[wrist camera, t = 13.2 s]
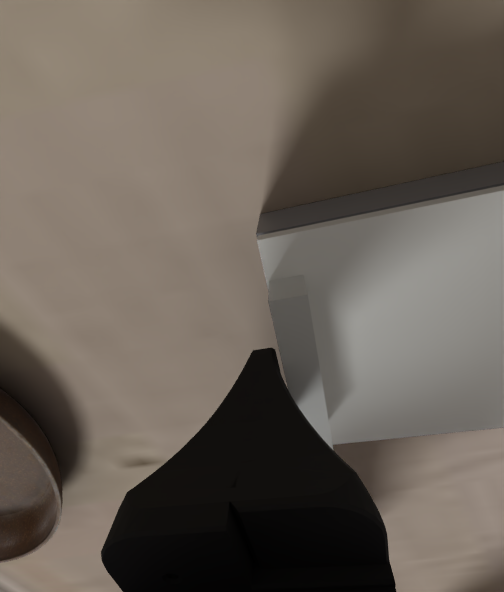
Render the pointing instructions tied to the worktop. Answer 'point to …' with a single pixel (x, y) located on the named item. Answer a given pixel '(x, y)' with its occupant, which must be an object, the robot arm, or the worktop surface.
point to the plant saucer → (26, 483)
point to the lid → (393, 318)
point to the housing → (383, 198)
